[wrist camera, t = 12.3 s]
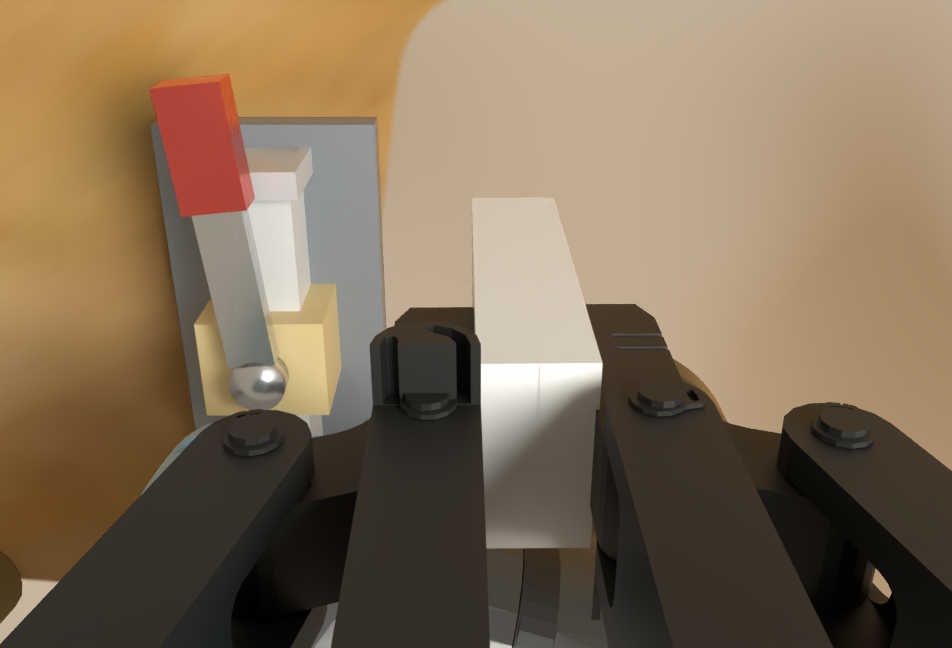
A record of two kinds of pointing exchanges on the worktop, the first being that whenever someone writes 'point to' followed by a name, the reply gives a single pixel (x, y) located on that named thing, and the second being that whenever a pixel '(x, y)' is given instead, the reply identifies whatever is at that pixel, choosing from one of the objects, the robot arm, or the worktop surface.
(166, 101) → the lever
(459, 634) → the robot arm
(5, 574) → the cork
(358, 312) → the valve board
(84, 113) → the worktop surface
